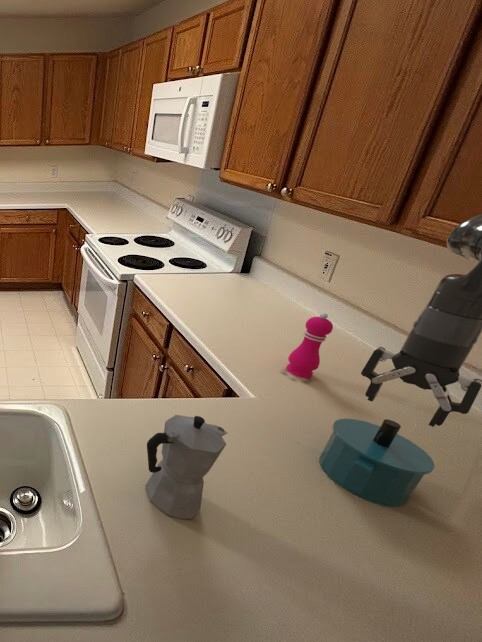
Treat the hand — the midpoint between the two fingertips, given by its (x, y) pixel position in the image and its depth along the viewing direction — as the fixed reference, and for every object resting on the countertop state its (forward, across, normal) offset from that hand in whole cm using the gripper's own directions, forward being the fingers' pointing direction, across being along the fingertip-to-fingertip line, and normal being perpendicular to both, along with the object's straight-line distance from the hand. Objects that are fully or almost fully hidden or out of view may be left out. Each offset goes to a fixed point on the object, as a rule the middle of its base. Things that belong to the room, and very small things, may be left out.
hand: (399, 411), depth 77 cm
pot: (+17, 0, 0) cm, 17 cm away
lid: (+8, 0, 0) cm, 8 cm away
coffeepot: (+17, +18, +41) cm, 48 cm away
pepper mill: (+17, +24, -38) cm, 48 cm away
